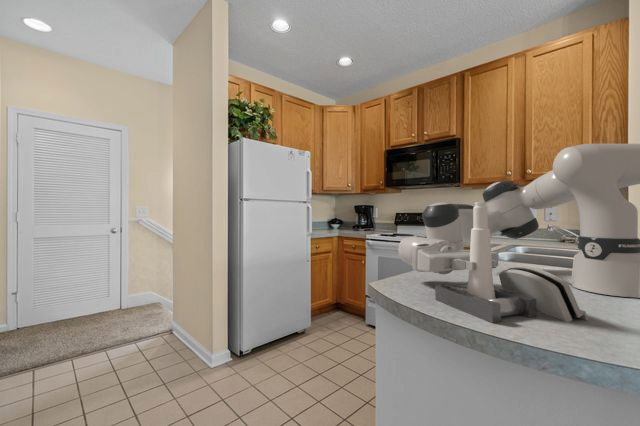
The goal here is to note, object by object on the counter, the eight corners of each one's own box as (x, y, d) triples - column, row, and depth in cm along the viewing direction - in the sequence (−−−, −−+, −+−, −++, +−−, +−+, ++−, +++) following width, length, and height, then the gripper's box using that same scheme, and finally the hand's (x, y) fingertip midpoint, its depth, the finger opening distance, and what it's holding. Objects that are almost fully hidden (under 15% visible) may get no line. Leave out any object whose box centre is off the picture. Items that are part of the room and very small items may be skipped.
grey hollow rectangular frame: (473, 295, 75) (473, 281, 75) (536, 316, 60) (536, 299, 60) (435, 299, 72) (435, 285, 72) (492, 323, 57) (492, 304, 57)
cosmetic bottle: (501, 306, 63) (501, 201, 62) (471, 305, 63) (471, 202, 63) (488, 297, 69) (488, 202, 68) (461, 296, 69) (461, 202, 69)
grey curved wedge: (590, 320, 58) (574, 272, 57) (570, 330, 57) (554, 281, 57) (522, 296, 74) (509, 259, 74) (505, 303, 74) (492, 266, 73)
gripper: (471, 265, 82) (519, 276, 68) (407, 271, 75) (446, 283, 62) (471, 242, 82) (519, 249, 68) (407, 246, 75) (446, 253, 62)
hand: (484, 265), depth 65 cm, fingers closed on cosmetic bottle, 4 cm apart
